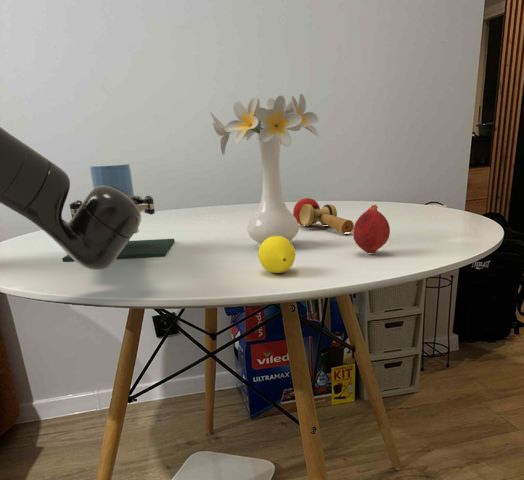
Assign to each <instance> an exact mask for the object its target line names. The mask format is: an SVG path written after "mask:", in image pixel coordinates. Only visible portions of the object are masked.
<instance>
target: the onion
mask: <svg viewBox="0 0 524 480" xmlns="http://www.w3.org/2000/svg"><path fill="white" fill-rule="evenodd" d="M378 207H379V206H378V205H377V204H375V203H373V204H371V205H370V206H369V207H368V209H367V210H366V211H364V212H363V213H362V214H360V216H359V217H357V220H356V222H355V223H354V228H353V231H352V235H353V240H354V243H355V244H356V245H357V246H358V247H359V248H360V249H361V250H362V251H364V252H365V253H366V254H368V253H374V254H376V252H377V251H378V250H380V249H381V248H382V247H384V245H386V244H387V242H388V240H389V238H390V235H391V227H390V223H389V221H388V219H387V218H386V217H385V215H384V214H383V213H381V212H380V211H378Z"/></svg>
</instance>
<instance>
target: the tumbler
mask: <svg viewBox="0 0 524 480" xmlns="http://www.w3.org/2000/svg"><path fill="white" fill-rule="evenodd" d="M89 169H90V170H89V171H90V177H91V182H92V188H93V189H94V188H95V187H97V186H108V187H116V188H119V189H121V190H123V191H124V192H126V193H127V194H128V195H129V196H130V195H134V196H135V194H134V193H135V192H134V185H133V179H132V173H131V167H130V163H116V164H115V163H114V164H99V165H97V164H96V165H90V166H89ZM93 189H92V190H93ZM139 232H140V230H139V227H138V228H137V230H136V231H135V233H134V234H137V233H139ZM134 234H133V235H134Z"/></svg>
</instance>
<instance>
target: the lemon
mask: <svg viewBox="0 0 524 480" xmlns="http://www.w3.org/2000/svg"><path fill="white" fill-rule="evenodd" d="M295 249H296V248H295V247H294V245H293V243H291V240H290V241H289V240H288V239H286V238H284V237H282V236H272V237H269V238H267V239H266V240H264V241H263V243H262V244H261V246H260V247H259V248H258V252H257V257H258V260H259V263H260V265H261V267H262V268H263V269H265V270H266V271H267V272H270V273H274V274H282V273H285V272H286V271H288V270H290V268H291V267H292V266H293V265H294V262H295V258H296V250H295Z"/></svg>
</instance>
